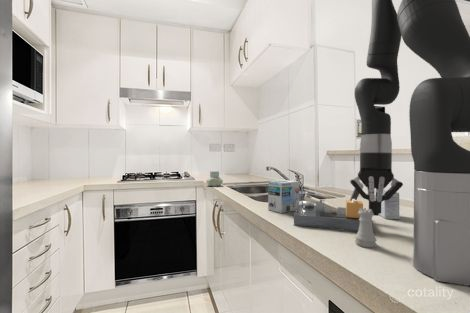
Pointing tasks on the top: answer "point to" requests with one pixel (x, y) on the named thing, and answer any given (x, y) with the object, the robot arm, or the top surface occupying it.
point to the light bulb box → (283, 195)
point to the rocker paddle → (326, 204)
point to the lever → (356, 193)
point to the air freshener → (214, 179)
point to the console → (324, 217)
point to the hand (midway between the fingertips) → (374, 214)
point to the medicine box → (390, 207)
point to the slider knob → (353, 208)
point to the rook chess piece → (365, 229)
